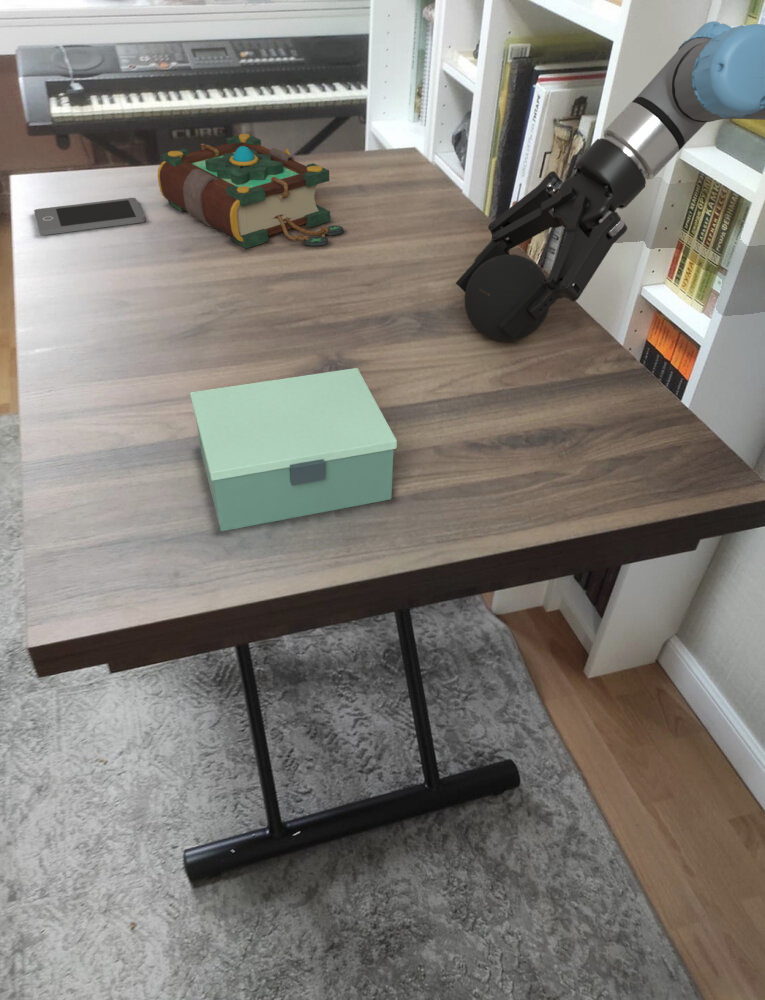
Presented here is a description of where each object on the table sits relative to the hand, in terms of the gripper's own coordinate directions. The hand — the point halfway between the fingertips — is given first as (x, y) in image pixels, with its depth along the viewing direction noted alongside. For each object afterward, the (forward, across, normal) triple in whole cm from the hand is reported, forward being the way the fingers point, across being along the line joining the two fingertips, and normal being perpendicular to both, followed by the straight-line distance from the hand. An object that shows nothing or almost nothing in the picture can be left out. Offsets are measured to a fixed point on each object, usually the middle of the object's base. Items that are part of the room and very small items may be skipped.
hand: (483, 310), depth 98 cm
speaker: (+1, 0, -5) cm, 5 cm away
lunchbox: (+23, -16, +18) cm, 33 cm away
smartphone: (+30, +51, +24) cm, 64 cm away
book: (+13, +43, +7) cm, 46 cm away
